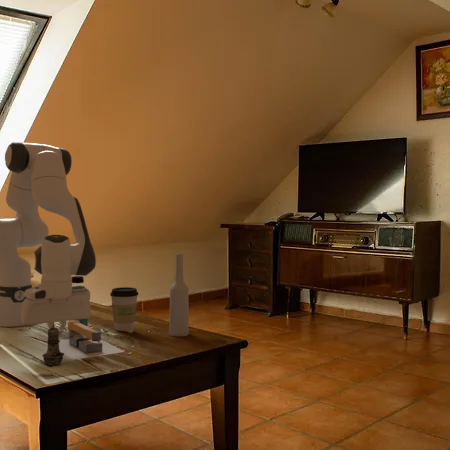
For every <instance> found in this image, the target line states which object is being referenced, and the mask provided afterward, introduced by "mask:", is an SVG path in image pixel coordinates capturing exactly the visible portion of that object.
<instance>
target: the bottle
mask: <svg viewBox="0 0 450 450" xmlns="http://www.w3.org/2000/svg"><path fill="white" fill-rule="evenodd" d="M174 279H175V280H174V283H172V285H171V286H170V288H169V325H168V326H169V330H168V331H169V336H170V337H176V338H177V337H179V338H181V337H187V336H188V335H189V332H190V331H189V329H190V328H189V325H190V324H189V321H190V319H189V318H190V317H189V315H190V314H189V310H190V309H189V305H190V303H189V295H190V294H189V293H190V292H189V287H188V285H187V284H186V283H185V282H184V253H180V252H179V253H175V278H174Z"/></svg>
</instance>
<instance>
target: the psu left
mask: <svg viewBox="0 0 450 450" xmlns="http://www.w3.org/2000/svg"><path fill="white" fill-rule="evenodd" d="M68 336H69V335H68ZM68 339H69V344H71V345H72V346H74V347H76V348H79V341H84V340H91V339H89V338H87V337H85V336H83V335H81V334H78V335H73V336H69V337H68Z"/></svg>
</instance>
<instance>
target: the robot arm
mask: <svg viewBox="0 0 450 450" xmlns="http://www.w3.org/2000/svg"><path fill="white" fill-rule="evenodd" d="M4 163H5V166H6V168H7V169H8V170H9V171H10V172H11V174H10V178H9V181H8V187H7V192H6V197H5V201H6V204H7V206H8V207H9V208H10V209H12V210H13V211H14V212H16V215H15V217H11V218H9V217H8V218H0V327H9V328H10V327H22V326H31V325H41V324H46V325H47V327H48V329H50V328H52V325H54V326H55V323H58V322H59V325H60V326H59V327H58V328H57V329H58V330H59V337H63V335H64V332H63V331H64V329H65V328H66V326H67V322H68V321H69V320H76V319H85V318H87V319H89V318H90V316H91V314H92V311H91V310H92V309H91V304H90V300H91V291H90V290H89V289H88V288H87V287H85V288H75V289H72V286H73V283H72V277H73V276H82V277H84V276H88V275H89V274H91V272H93V270H94V269H95V268H96V264H97V256H96V253H95V250H94V248H93V244H92V242H91V239H90V235H89V232H88V231H89V230H88V227H87V224H86V220H85V216H84V214H83V209H82V206H81V204H80V202H79V198H77V197H75V196H73V195H72V194H71V192H70V190H69V188H68V185H67V183H68V182H67V175H68V174H70V171H71V168H72V163H73V161H72V155H71V154H70V152H69V150H67V149H65V148H63V147H55V146H54V145H53V146H52V145H48V144H43V143H34V142H33V143H32V142H23V141H15V142H14V141H13V142H11V143H10V144H9V145H8V146H7V148H6V150H5V153H4ZM39 207H40V208H41V209H43V210H44V211H46V212H49V213H54V214H56V215H59V216H61V217H64V218H65V219H66V220H68V222H69V223H70V225H71V228H72V231H73V235H74V239H75V243H73V244H71V241H70V237H68V236H66V235H63V234H50V235H49V231H50V230H49V227H48V225H47V223H46V222H45V220H43V219H42V218H41V216H40V213H39ZM37 246H39V247H38V248H37V249H36V250H35V251H34V258H35V259H34V262H35V263H34V270H35V271H36V272H37V273H38V274H40V275H41V278H40V284H38V285H35V286H33V284H32V266H31V263H30V262H29V261H28V260H27V259H25V258H23V257H21V256H20V254H19V252H18V248H19V249H20V248H31V247H37ZM86 290H87V291H86Z"/></svg>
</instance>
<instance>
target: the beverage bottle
mask: <svg viewBox="0 0 450 450" xmlns="http://www.w3.org/2000/svg"><path fill="white" fill-rule="evenodd" d="M71 277H72V284H83V283H84V276H81V275H73V276H71ZM75 288H86V287H85V286H84V285H72V289H75ZM86 291H87V290H86ZM88 319H89V318H85V319H76V320H79V323H81V324H83V325H85V326H87V327H89V326H88V325H89V324H88ZM68 321H70V320H68Z"/></svg>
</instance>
